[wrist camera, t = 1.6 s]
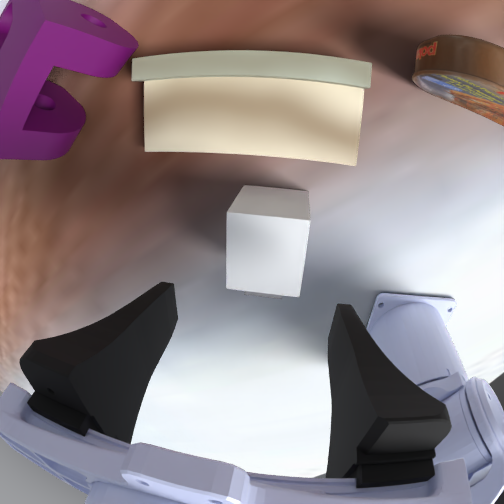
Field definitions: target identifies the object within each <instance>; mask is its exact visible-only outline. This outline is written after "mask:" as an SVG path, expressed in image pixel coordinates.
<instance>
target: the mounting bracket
mask: <svg viewBox="0 0 504 504" xmlns="http://www.w3.org/2000/svg"><path fill="white" fill-rule="evenodd" d="M138 46H139V45H138V42H137V41H136V39H135V38H134V37H133V36H132V35H131V34H130V33H128V32H127V31H126V30H124V29H123V28H122V27H121V26H119V25H118V24H117V23H115V22H114V21H113V20H111V19H110V18H108V17H106V16H104V15H103V14H101V13H99V12H97V11H95V10H93V9H91V8H88V7H86V6H84V5H81V4H78V3H76V2H73V1H70V0H9V2H8V3H7V5H6V7H5V9H4V10H3V12H2V14H1V16H0V159H21V160H51V159H56V158H59V157H61V156H63V155H64V154H66V153H67V152H68V151H69V149H70V148H71V146H72V144H73V142H74V141H75V139H76V137H77V135H78V134H79V132H80V130H81V128H82V127H83V125H84V123H85V120H86V115H85V111H84V109H83V107H82V106H81V105H80V104H79V103H78V102H77V101H76V100H75V99H74V98H73V97H72V96H71V95H70V94H69V93H68V92H67V91H66V90H65V89H64V88H62V87H60V86H58V85H56V84H54V83H52V82H50V81H47V80H46V79H47V77H48V75H49V73H50V71H51V70H52V68H53V66H57V67H61V68H65V69H69V70H73V71H76V72H80V73H84V74H87V75H91V76H96V77H105V78H108V77H114V76H116V75H117V74H118V72H119V71H120V70H121V68H122V67H123V66H124V64H125V63H126V62H127V60H128V59H129V58H130V56H131V55H132V54H133V53H134V51H135V50H136V49H137V48H138Z"/></svg>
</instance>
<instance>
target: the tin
mask: <svg viewBox="0 0 504 504" xmlns="http://www.w3.org/2000/svg"><path fill="white" fill-rule="evenodd" d="M412 80H413V82H414V83H415V84H416V85H417V86H418V87H420V88H421V89H423V90H424V91H426V92H428V93H430V94H432V95H434V96H437V97H439V98H441V99H444V100H446V101H449V102H451V103H454V104H456V105H459V106H461V107H463V108H466V109H468V110H471V111H473V112H475V113H477V114H479V115H482V116H484V117H486V118H488V119H490V120H492V121H494V122H496V123H498V124H500V125H502V126H504V48H503V47H500V46H498V45H495V44H493V43H490V42H487V41H484V40H481V39H477V38H473V37H468V36H461V35H440V36H437V37H434V38H432V39H429V40H426V41H424V42H422V43H421V44H420V45H419V46H418V48H417V53H416V63H415V73H414V74H413V76H412Z"/></svg>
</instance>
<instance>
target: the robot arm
mask: <svg viewBox="0 0 504 504" xmlns="http://www.w3.org/2000/svg"><path fill="white" fill-rule="evenodd" d="M379 303H383V304H381V305H379ZM456 304H457V303H456V301H455V299H451V298H438V297H425V296H413V295H401V294H389V293H381V294H379V295H378V296H377V297H376V300H375V304H374V307H373V310H372V313H371V316H370V319H369V322H368V325H367V327H366V328H365V326H364V325H363V323H362V322H361V320H360V318H359V317H358V315H357V313H356V312H355V310H354V309H353V307H352V306H351V305H348V304H337V307H336V311H335V315H334V318H333V322H332V326H331V330H330V333H329V337H328V366H329V377H330V387H331V399H332V417H331V434H330V447H329V456H328V465H327V472H326V478H302V477H287V476H276V475H266V474H258V473H250V472H245V470H243V469H241V468H239V467H237V466H235V465H233V464H229V463H225V462H221V461H217V460H212V459H207V458H202V457H198V456H193V455H189V454H185V453H181V452H177V451H173V450H169V449H165V448H162V447H158V446H155V445H151V444H146V443H136V444H132V445H131V440H132V435H133V431H134V427H135V424H136V420H137V416H138V413H139V410H140V407H141V403H142V400H143V397H144V394H145V392H146V389H147V386H148V383H149V381H150V378H151V376H152V374H153V372H154V370H155V368H156V366H157V364H158V362H159V360H160V358H161V356H162V354H163V353H164V351H165V349H166V347H167V345H168V343H169V341H170V339H171V337H172V334H173V331H174V329H175V326H176V323H177V320H178V315H177V307H176V298H175V290H174V284H173V283H166V282H160V283H159V284H157V285H156V286H154V287H153V288H151V289H150V290H148V291H147V292H145V293H144V294H143V295H141V296H140V297H138V298H137V299H135V300H134V301H132V302H131V303H129V304H128V305H126V306H124V307H123V308H121V309H120V310H118V311H116V312H115V313H113V314H111V315H109V316H108V317H106V318H104V319H102V320H100V321H98V322H96V323H93V324H91V325H89V326H86V327H84V328H81V329H78V330H76V331H73V332H70V333H67V334H63V335H60V336H56V337H52V338H47V339H41V340H36V341H34V342H33V343H32V345H31V346H30V347H29V348H28V349H27V351H26V352H25V353H24V354H23V356H22V357H21V358H20V366H21V369H22V371H23V373H24V375H25V376H26V378H27V379H28V381H29V382H30V384H31V386H32V387H33V389H34V390H35V392H34V393H33V395H31V394H30V393H28V392H27V391H26V390H24V389H22V388H20V387H19V386H17V385H15V384H14V383H10V384H9V386H8V387H7V388H6V390H5V391H4V392H3V394H2V395H1V397H0V437H1V438H2V439H3V440H5V442H6V443H7V444H8V445H9V446H11V447H12V448H13V449H14V450H16V451H17V452H18V453H20V454H21V455H23V456H24V457H26V458H27V459H29V460H30V461H32V462H33V463H35V464H36V465H38V466H39V467H41V468H43V469H44V470H46V471H47V472H49V473H51V474H52V475H54V476H56V477H57V478H59V479H60V480H62V481H64V482H66V483H67V484H69V485H71V486H73V487H74V488H76V489H78V490H80V491H82V492H84V493H86V494H87V495H88V496H87V499H86V501H85V503H84V504H494V502H495V501H496V500H497V498H498V497H499V495H500V494H501V493H502V491H503V490H504V411H503V409H502V407H501V404H500V402H499V400H498V398H497V396H496V395H495V393H494V391H493V390H492V388H491V387H490V385H489V384H488V383H487V381H486V380H484V379H479V378H477V377H472V378H471V379H470V380H469V379H468V376H467V374H466V371H465V369H464V366H463V364H462V361H461V359H460V357H459V354H458V352H457V350H456V347H455V345H454V343H453V341H452V338H451V336H450V334H449V332H448V330H447V328H446V326H447V324H448V322H449V320H450V318H451V316H452V313H453V311H454V309H455V307H456ZM449 308H450V309H449ZM448 309H449V310H448Z"/></svg>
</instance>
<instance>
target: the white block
mask: <svg viewBox="0 0 504 504" xmlns="http://www.w3.org/2000/svg"><path fill="white" fill-rule="evenodd" d="M309 227H310V207H309V192H308V191H302V190H292V189H282V188H272V187H261V186H249V185H244V186H243V187H242V189H241V191H240V192H239V194H238V195H237V197H236V198H235V200H234V202H233V203H232V205H231V206H230V208H229V209H228V211H227V233H226V289H234V290H242V291H245V295H252V296H260V297H268V298H277V299H282V295H284V296H292V297H299V296H300V290H301V283H302V277H303V270H304V263H305V257H306V249H307V242H308V235H309Z"/></svg>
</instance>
